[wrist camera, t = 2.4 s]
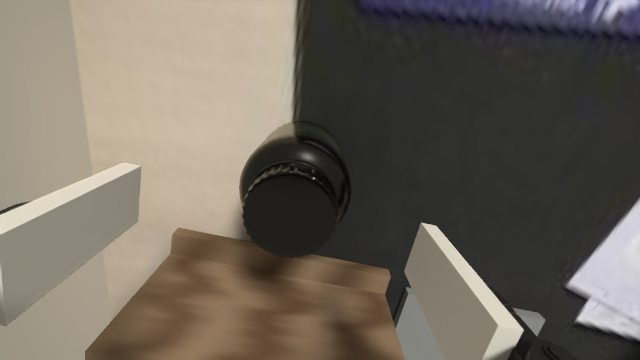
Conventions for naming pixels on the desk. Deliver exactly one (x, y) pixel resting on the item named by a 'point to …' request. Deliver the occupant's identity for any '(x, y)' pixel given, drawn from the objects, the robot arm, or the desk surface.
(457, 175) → the desk surface
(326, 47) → the desk surface
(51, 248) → the robot arm
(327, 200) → the supplement bottle
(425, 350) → the slate mat
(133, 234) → the desk surface
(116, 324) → the walnut screen
